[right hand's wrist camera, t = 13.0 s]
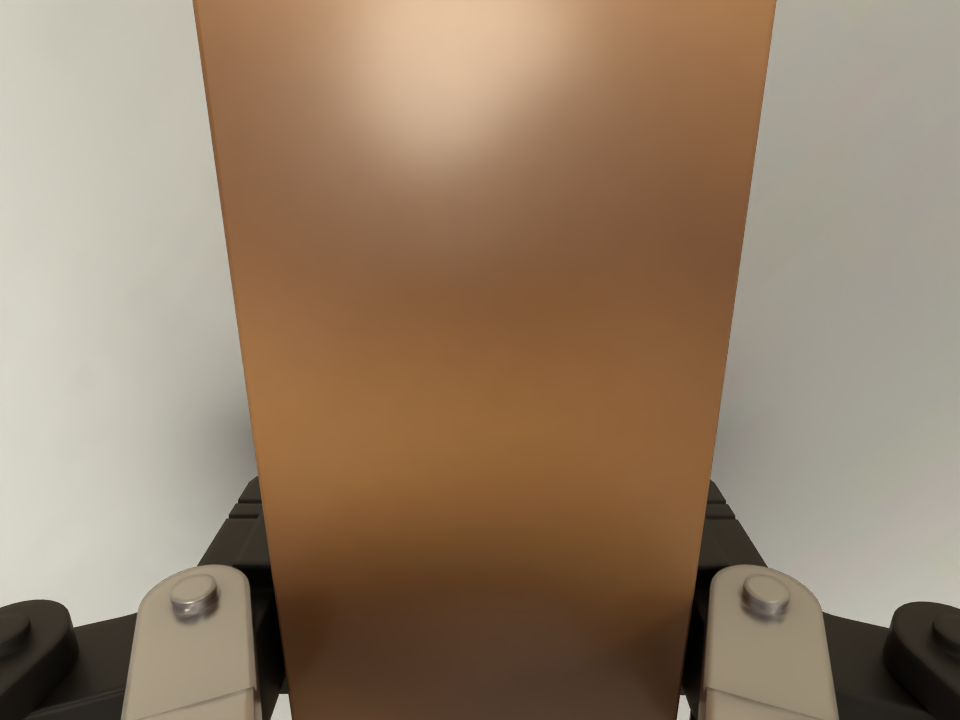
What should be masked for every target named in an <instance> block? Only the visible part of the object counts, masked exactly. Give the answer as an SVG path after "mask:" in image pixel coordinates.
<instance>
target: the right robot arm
mask: <svg viewBox="0 0 960 720" xmlns="http://www.w3.org/2000/svg"><path fill="white" fill-rule="evenodd" d="M279 694H288V686H287V679H286V672H285V665H284V657H283V650H282V643H281V636H280V629H279V621H278V614H277V607H276V600H275V592H274V585H273V578H272V571H271V564H270V556H269V549H268V542H267V535H266V527H265V520H264V513H263V506H262V499H261V491H260V484H259V477H258V476H257V477H256V478H254V479H253V480H251V481H250V482H249V483H248V485H247V487H246V488H245V490H244V491H243V493H242V495H241V496H240V498H239V500H238V504H235V506H234V508H233V509H232V511H231V512H230V514H229V519H226V520H225V522H224V524H223V525H222V527H221V528H220V530H219V532H218V533H217V535H216V537H215V538H214V540H213V541H212V543H211V545H210V546H209V548H208V549H207V551H206V553H205V554H204V556H203V557H202V559H201V561H200V562H199V564H198V565H197V567H193V568H189V569H186V570H183V571H181V572H178V573H176V574H174V575H172V576H170V577H168V578H166V579H165V580H163V581H161V582H160V583H159V584H157V585H156V586H155V587H154V588H152V589H151V590H150V591H149V592H148V593H147V595H146V596H145V597H144V598H143V600H142V602H141V604H140V606H139V609H138V612H137V613H134V614H131V615H127V616H123V617H119V618H115V619H110V620H106V621H101V622H97V623H92V624H88V625H83V626H79V627H74V628H73V624H72V621H71V617H70V614H69V612H68V609H67V608H66V607H65V606H64V605H62V604H60V603H58V602H55V601H51V600H29V601H23V602H18V603H14V604H11V605H7V606H4V607H1V608H0V720H271V716H272V713H273V710H274V707H275V704H276V702H277V699H278V696H279ZM680 695H686V698H687V701H688V704H689V706H690V709H691V711H690V717H689V720H960V609H958V608H955V607H952V606H949V605H944V604H940V603H933V602H911V603H908V604H904V605H902V606H901V607H899V608H898V609H897V610H896V611H895V612H894V615H893V617H892V621H891V624H890V628H885V627H881V626H876V625H872V624H868V623H863V622H859V621H854V620H850V619H845V618H841V617H837V616H834V615H830V614H828V613H825V612H822V609H821V606H820V604H819V602H818V600H817V598H816V597H815V596H814V595H813V593H812V592H811V591H810V590H809V589H808V588H806V587H805V586H804V585H803V584H801V583H800V582H799V581H797V580H795V579H794V578H792V577H790V576H788V575H786V574H784V573H782V572H779V571H777V570H774V569H771V568H768V567H767V565H766V564H765V562H764V561H763V559H762V557H761V556H760V554H759V553H758V551H757V549H756V548H755V546H754V545H753V543H752V542H751V540H750V538H749V537H748V535H747V534H746V532H745V530H744V529H743V527H742V526H741V524H740V522H739V521H738V520H736V519H735V515H734V513H733V511H732V510H731V508H730V507H729V505H728V504H726V500H725V499H724V497H723V496H722V494H721V492H720V491H719V489H718V488H717V486H716V484H715V483H714V482H713V481H711V480H710V482H709V489H708V497H707V504H706V511H705V518H704V525H703V533H702V540H701V547H700V554H699V561H698V569H697V576H696V583H695V590H694V597H693V605H692V612H691V619H690V626H689V633H688V641H687V648H686V655H685V662H684V669H683V677H682V684H681V691H680Z"/></svg>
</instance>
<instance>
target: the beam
mask: <svg viewBox="0 0 960 720" xmlns="http://www.w3.org/2000/svg"><path fill="white" fill-rule="evenodd" d="M193 7H194V14H195V22H196V29H197V36H198V43H199V50H200V58H201V65H202V72H203V79H204V87H205V94H206V101H207V108H208V116H209V123H210V130H211V137H212V144H213V152H214V159H215V166H216V173H217V181H218V188H219V195H220V202H221V209H222V217H223V224H224V231H225V238H226V246H227V253H228V260H229V267H230V274H231V282H232V289H233V296H234V303H235V311H236V318H237V325H238V332H239V340H240V347H241V354H242V361H243V368H244V376H245V383H246V390H247V397H248V405H249V412H250V419H251V426H252V433H253V441H254V448H255V455H256V462H257V470H258V477H259V484H260V491H261V499H262V506H263V513H264V520H265V527H266V535H267V542H268V549H269V556H270V564H271V571H272V578H273V585H274V592H275V600H276V607H277V614H278V621H279V629H280V636H281V643H282V650H283V657H284V665H285V672H286V679H287V686H288V694H289V701H290V708H291V715H292V720H677V713H678V705H679V698H680V691H681V684H682V677H683V669H684V662H685V655H686V648H687V641H688V633H689V626H690V619H691V612H692V605H693V597H694V590H695V583H696V576H697V569H698V561H699V554H700V547H701V540H702V533H703V525H704V518H705V511H706V504H707V497H708V489H709V482H710V475H711V468H712V461H713V453H714V446H715V439H716V432H717V425H718V417H719V410H720V403H721V396H722V389H723V381H724V374H725V367H726V360H727V353H728V345H729V338H730V331H731V324H732V317H733V309H734V302H735V295H736V288H737V281H738V273H739V266H740V259H741V252H742V245H743V237H744V230H745V223H746V216H747V209H748V202H749V194H750V187H751V180H752V173H753V166H754V158H755V151H756V144H757V137H758V130H759V122H760V115H761V108H762V101H763V94H764V86H765V79H766V72H767V65H768V58H769V50H770V43H771V36H772V29H773V22H774V14H775V7H776V0H193Z"/></svg>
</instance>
